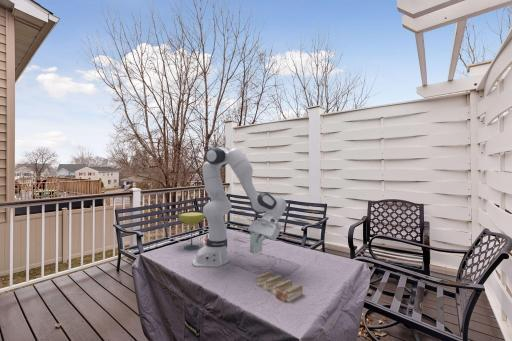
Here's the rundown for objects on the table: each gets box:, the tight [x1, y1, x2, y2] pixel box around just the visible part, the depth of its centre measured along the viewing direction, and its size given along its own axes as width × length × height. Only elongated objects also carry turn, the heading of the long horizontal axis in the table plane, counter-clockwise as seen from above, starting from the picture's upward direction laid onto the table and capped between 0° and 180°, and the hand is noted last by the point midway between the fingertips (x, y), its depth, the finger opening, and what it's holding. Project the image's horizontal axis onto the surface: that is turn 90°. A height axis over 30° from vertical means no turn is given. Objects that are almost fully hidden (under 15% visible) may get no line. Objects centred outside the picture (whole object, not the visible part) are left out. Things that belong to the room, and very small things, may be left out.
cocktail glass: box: [178, 210, 205, 251], centre depth 182 cm, size 18×18×25 cm
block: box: [249, 232, 263, 254], centre depth 136 cm, size 3×6×10 cm, turn 132°
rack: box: [256, 270, 304, 303], centre depth 122 cm, size 21×11×4 cm, turn 42°
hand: (255, 242), depth 136 cm, fingers closed on block, 3 cm apart
